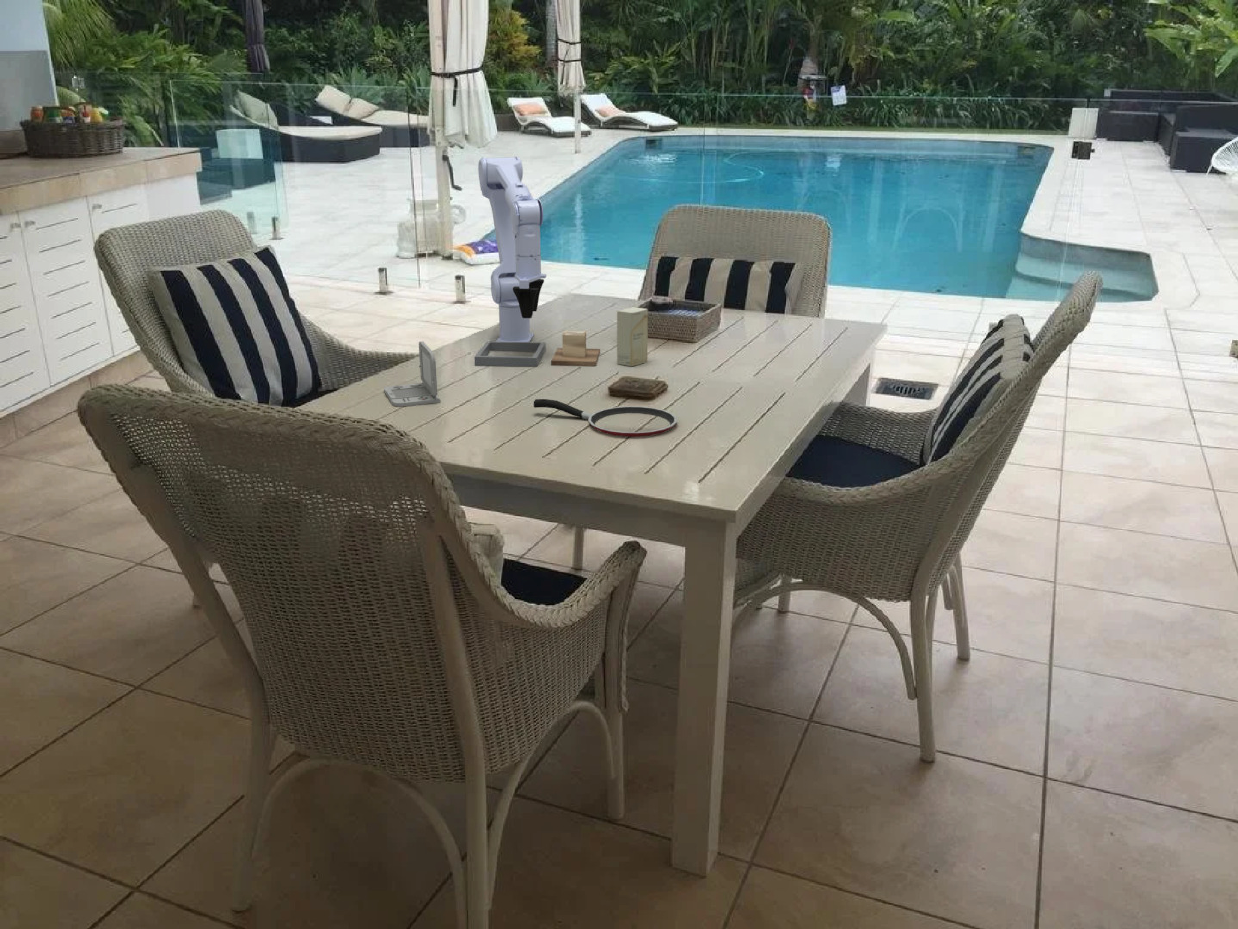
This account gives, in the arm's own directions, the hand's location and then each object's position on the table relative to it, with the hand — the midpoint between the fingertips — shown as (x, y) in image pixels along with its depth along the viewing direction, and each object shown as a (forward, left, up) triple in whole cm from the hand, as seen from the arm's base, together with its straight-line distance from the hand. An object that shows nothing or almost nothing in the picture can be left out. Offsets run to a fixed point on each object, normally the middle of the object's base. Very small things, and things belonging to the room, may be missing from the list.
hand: (529, 314), depth 242 cm
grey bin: (+4, -4, -9) cm, 11 cm away
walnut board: (+4, +11, -9) cm, 15 cm away
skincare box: (+6, +24, -10) cm, 27 cm away
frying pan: (+50, +21, -10) cm, 55 cm away
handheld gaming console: (+36, -19, -10) cm, 42 cm away
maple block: (+4, +11, -8) cm, 14 cm away
